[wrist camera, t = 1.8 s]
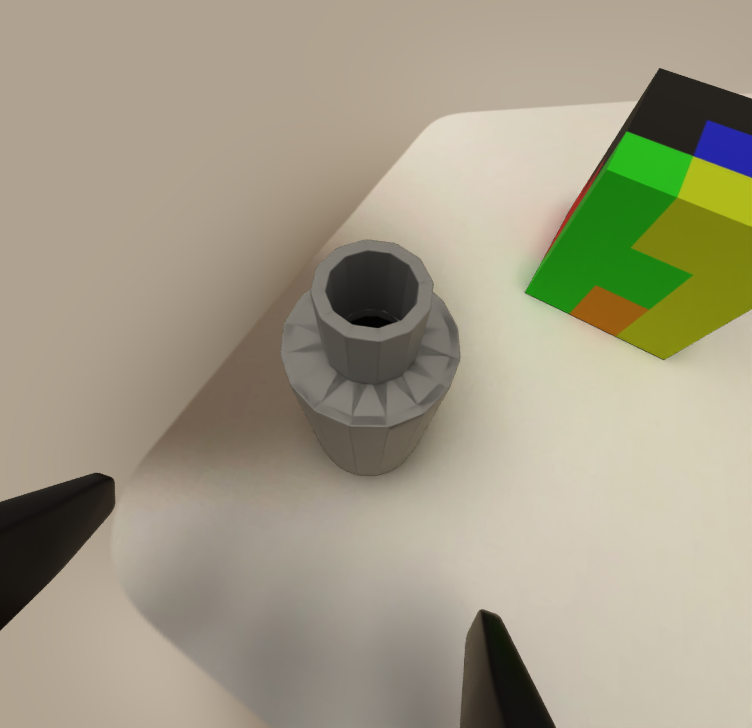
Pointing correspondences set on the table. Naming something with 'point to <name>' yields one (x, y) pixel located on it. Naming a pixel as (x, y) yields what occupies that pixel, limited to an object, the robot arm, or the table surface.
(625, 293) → the puzzle toy
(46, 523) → the robot arm
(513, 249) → the table surface
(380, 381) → the flask
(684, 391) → the table surface
